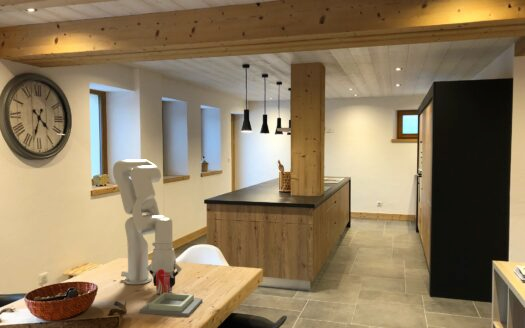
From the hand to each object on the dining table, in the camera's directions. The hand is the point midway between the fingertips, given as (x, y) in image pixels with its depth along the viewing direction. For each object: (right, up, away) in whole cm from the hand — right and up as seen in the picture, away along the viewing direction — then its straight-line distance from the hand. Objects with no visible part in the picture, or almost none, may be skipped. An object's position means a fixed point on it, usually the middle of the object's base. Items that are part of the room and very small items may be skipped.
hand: (164, 285), depth 183 cm
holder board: (+7, -4, -17) cm, 19 cm away
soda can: (0, -4, 0) cm, 4 cm away
